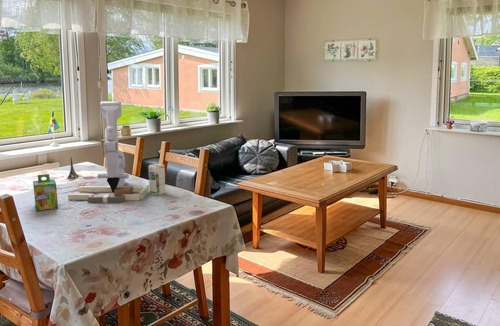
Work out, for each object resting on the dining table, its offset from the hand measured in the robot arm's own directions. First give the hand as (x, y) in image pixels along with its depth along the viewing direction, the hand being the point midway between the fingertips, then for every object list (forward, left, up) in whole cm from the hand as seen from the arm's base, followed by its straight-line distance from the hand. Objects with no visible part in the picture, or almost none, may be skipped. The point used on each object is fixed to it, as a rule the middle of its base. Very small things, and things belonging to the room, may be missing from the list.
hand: (114, 192), depth 215 cm
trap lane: (+2, -2, -2) cm, 3 cm away
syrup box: (-4, +20, -2) cm, 21 cm away
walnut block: (0, +5, -2) cm, 5 cm away
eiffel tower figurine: (-34, -34, -2) cm, 48 cm away
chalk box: (+18, -25, -2) cm, 31 cm away
